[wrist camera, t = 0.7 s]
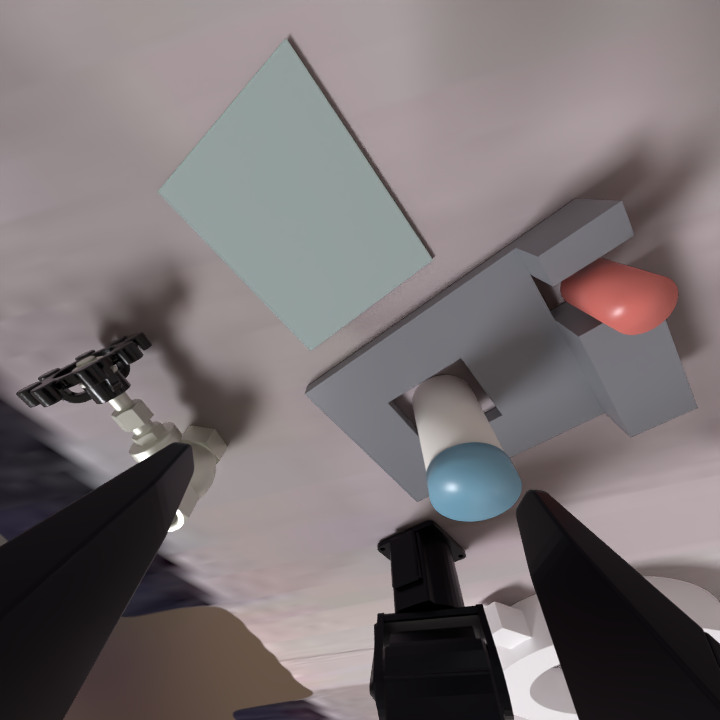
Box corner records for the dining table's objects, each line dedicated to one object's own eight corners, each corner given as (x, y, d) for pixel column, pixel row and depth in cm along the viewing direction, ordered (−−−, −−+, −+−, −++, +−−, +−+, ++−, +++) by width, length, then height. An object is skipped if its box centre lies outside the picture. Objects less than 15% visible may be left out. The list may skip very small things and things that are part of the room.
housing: (651, 376, 22) (697, 407, 19) (415, 491, 28) (421, 529, 25) (575, 198, 17) (621, 200, 14) (307, 386, 23) (297, 417, 20)
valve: (252, 450, 26) (163, 321, 21) (219, 525, 20) (84, 372, 15) (184, 468, 27) (84, 350, 22) (135, 544, 21) (-18, 408, 16)
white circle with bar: (693, 668, 45) (727, 718, 40) (490, 685, 49) (501, 731, 45) (748, 555, 32) (806, 610, 28) (467, 590, 36) (480, 643, 32)
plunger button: (619, 286, 17) (685, 311, 13) (571, 314, 18) (621, 345, 14) (602, 246, 16) (668, 262, 12) (552, 277, 17) (601, 301, 13)
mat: (432, 259, 18) (432, 259, 18) (310, 349, 21) (310, 351, 21) (287, 40, 14) (285, 38, 14) (159, 191, 17) (157, 191, 17)
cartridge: (485, 405, 23) (537, 498, 16) (432, 434, 25) (458, 532, 18) (453, 361, 22) (495, 445, 15) (398, 395, 23) (412, 486, 16)
